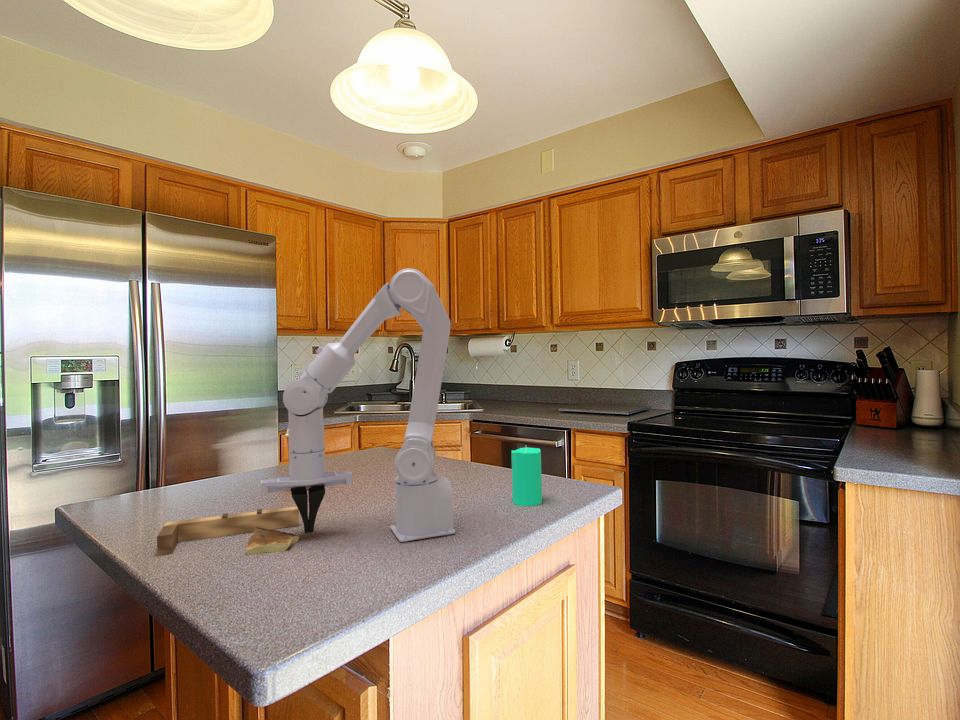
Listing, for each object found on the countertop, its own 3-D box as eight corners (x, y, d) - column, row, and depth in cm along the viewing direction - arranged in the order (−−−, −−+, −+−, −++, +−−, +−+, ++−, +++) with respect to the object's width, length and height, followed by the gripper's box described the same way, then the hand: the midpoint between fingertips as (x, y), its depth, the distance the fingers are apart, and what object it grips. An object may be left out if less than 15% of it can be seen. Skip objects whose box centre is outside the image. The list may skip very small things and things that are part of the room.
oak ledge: (298, 522, 95) (298, 504, 95) (300, 535, 88) (300, 515, 88) (166, 540, 87) (166, 520, 87) (157, 555, 80) (156, 534, 80)
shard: (256, 535, 90) (256, 525, 90) (302, 530, 92) (302, 520, 92) (243, 558, 79) (243, 547, 79) (296, 552, 81) (296, 541, 81)
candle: (534, 496, 108) (533, 439, 108) (547, 504, 103) (545, 443, 103) (508, 499, 106) (506, 441, 106) (519, 507, 101) (517, 446, 101)
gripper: (347, 443, 93) (349, 518, 93) (260, 450, 88) (262, 530, 88) (353, 449, 87) (355, 530, 87) (259, 457, 81) (261, 543, 81)
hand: (308, 531), depth 87 cm, fingers closed
